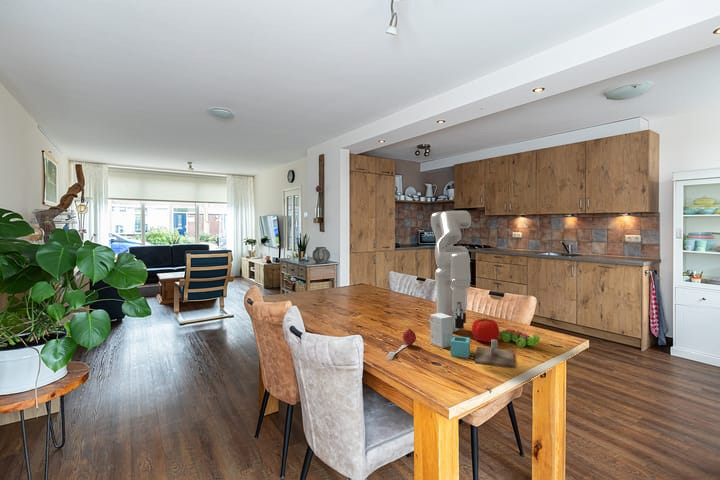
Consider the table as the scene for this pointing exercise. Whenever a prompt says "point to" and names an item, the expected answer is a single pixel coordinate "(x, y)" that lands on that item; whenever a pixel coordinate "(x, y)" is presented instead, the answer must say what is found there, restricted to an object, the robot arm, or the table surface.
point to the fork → (395, 352)
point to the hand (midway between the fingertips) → (460, 325)
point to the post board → (494, 356)
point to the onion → (409, 337)
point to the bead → (460, 346)
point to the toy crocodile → (518, 337)
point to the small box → (441, 329)
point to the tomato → (485, 330)
